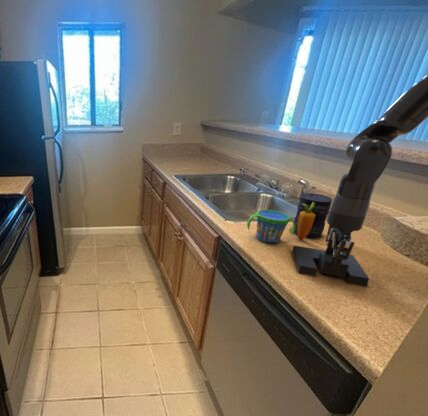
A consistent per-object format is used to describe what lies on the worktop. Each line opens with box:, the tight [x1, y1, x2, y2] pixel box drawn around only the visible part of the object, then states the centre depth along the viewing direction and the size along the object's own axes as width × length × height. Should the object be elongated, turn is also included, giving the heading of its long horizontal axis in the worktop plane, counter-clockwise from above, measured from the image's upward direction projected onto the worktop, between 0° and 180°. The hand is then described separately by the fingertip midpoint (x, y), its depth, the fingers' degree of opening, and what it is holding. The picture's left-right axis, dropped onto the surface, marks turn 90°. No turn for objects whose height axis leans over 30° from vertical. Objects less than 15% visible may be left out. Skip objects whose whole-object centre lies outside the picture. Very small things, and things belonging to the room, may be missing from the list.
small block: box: [316, 253, 349, 278], centre depth 82 cm, size 6×6×4 cm
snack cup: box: [246, 209, 296, 244], centre depth 102 cm, size 16×10×10 cm
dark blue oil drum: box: [293, 186, 333, 240], centre depth 105 cm, size 10×10×18 cm
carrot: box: [297, 202, 315, 241], centre depth 100 cm, size 5×5×15 cm
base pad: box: [291, 245, 370, 287], centre depth 86 cm, size 16×14×2 cm
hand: (331, 262), depth 82 cm, fingers closed on small block, 5 cm apart
